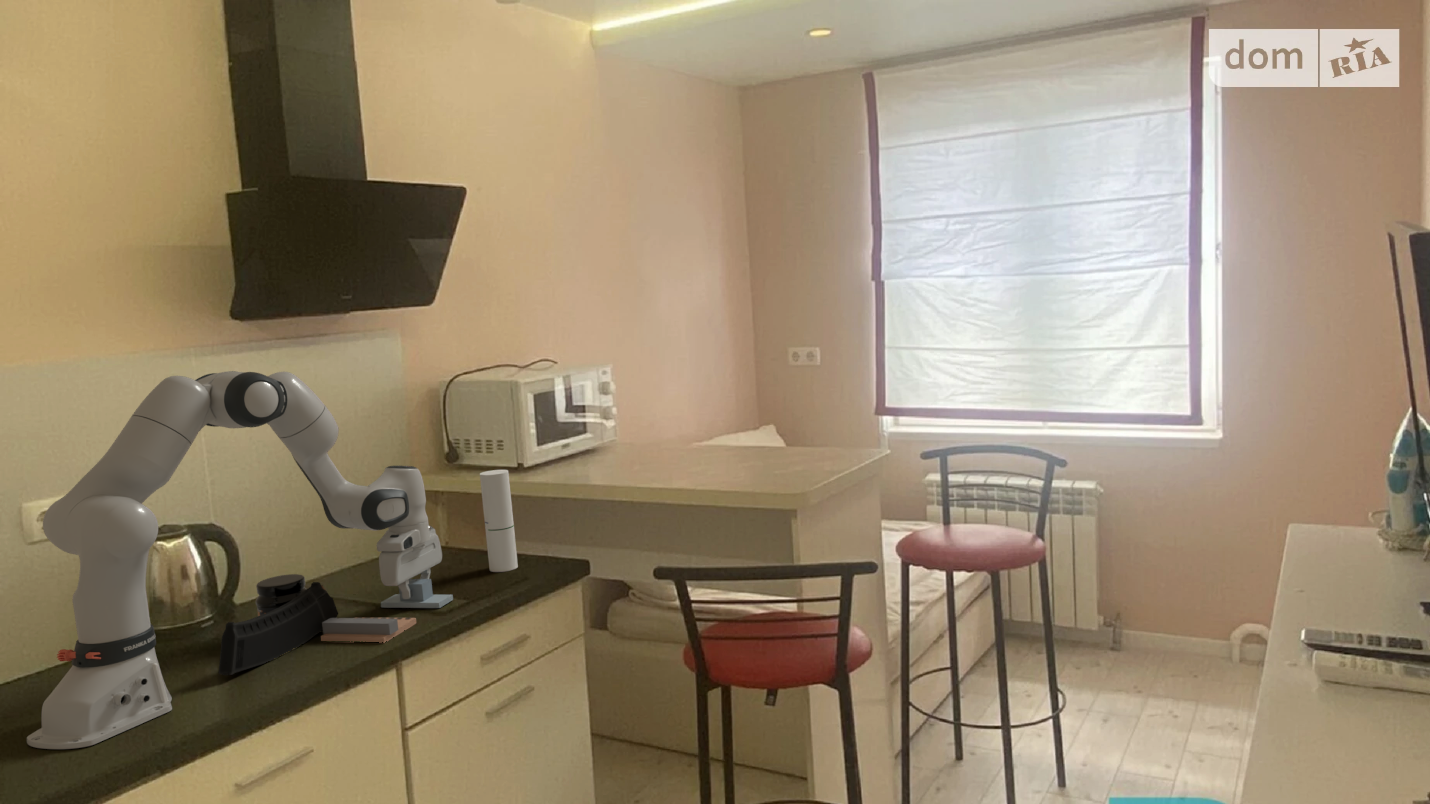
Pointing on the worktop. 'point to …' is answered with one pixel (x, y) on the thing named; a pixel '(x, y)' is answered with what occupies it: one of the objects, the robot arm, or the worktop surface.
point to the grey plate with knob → (418, 597)
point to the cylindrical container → (498, 520)
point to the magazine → (275, 631)
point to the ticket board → (372, 637)
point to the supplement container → (278, 591)
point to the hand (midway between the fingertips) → (416, 593)
